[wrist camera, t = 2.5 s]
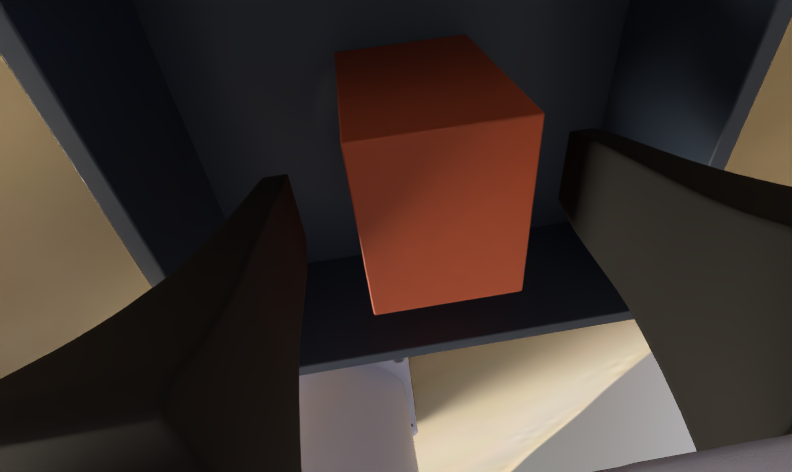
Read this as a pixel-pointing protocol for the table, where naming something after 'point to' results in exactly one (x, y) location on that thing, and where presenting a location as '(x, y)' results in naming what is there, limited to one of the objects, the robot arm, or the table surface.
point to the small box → (437, 170)
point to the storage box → (320, 132)
